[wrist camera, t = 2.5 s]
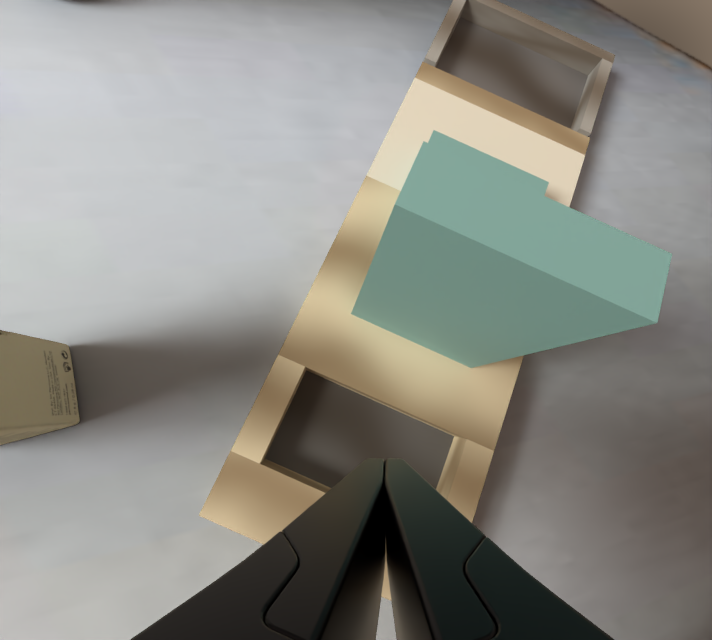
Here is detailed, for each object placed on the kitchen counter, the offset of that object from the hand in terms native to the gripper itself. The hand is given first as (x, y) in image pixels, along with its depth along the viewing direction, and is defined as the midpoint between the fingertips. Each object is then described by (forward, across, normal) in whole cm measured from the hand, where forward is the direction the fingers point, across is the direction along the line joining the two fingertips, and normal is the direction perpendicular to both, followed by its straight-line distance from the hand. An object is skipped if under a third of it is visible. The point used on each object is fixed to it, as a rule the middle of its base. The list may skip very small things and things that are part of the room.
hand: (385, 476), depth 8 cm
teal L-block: (+14, +3, +4) cm, 15 cm away
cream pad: (+19, +6, +8) cm, 22 cm away
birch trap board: (+17, +4, +4) cm, 18 cm away
